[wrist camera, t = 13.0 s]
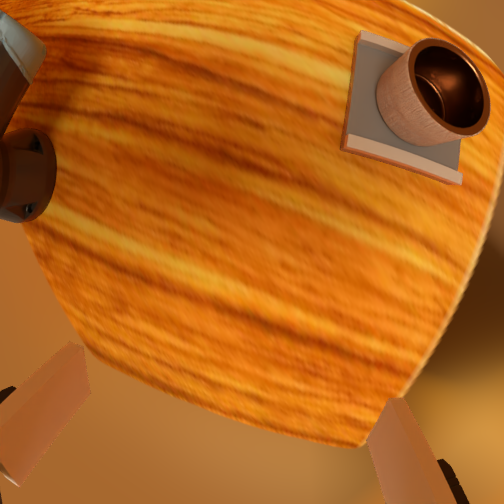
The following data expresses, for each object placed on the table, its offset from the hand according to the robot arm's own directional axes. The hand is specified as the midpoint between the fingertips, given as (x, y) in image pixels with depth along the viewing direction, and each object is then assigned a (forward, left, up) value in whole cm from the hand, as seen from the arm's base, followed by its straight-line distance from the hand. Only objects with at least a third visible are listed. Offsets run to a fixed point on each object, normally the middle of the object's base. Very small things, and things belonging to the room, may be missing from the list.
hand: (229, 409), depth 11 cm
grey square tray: (+15, +23, -26) cm, 38 cm away
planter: (+15, +23, -24) cm, 37 cm away
